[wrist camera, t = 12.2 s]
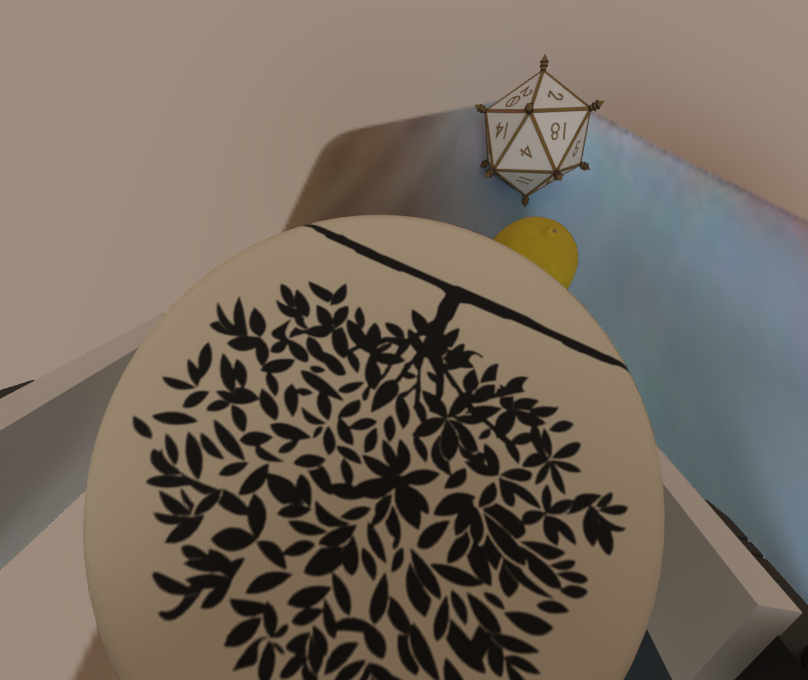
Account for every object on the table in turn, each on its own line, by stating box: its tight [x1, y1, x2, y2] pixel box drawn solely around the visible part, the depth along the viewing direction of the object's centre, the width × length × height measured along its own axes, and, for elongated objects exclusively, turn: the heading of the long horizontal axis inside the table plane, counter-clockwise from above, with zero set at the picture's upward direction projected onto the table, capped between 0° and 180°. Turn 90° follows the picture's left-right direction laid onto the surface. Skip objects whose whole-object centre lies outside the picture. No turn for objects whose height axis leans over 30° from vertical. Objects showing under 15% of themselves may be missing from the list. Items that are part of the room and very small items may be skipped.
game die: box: [475, 55, 604, 207], centre depth 28 cm, size 9×8×10 cm
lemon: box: [493, 217, 578, 289], centre depth 24 cm, size 6×6×8 cm
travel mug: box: [83, 215, 665, 680], centre depth 13 cm, size 8×8×18 cm
